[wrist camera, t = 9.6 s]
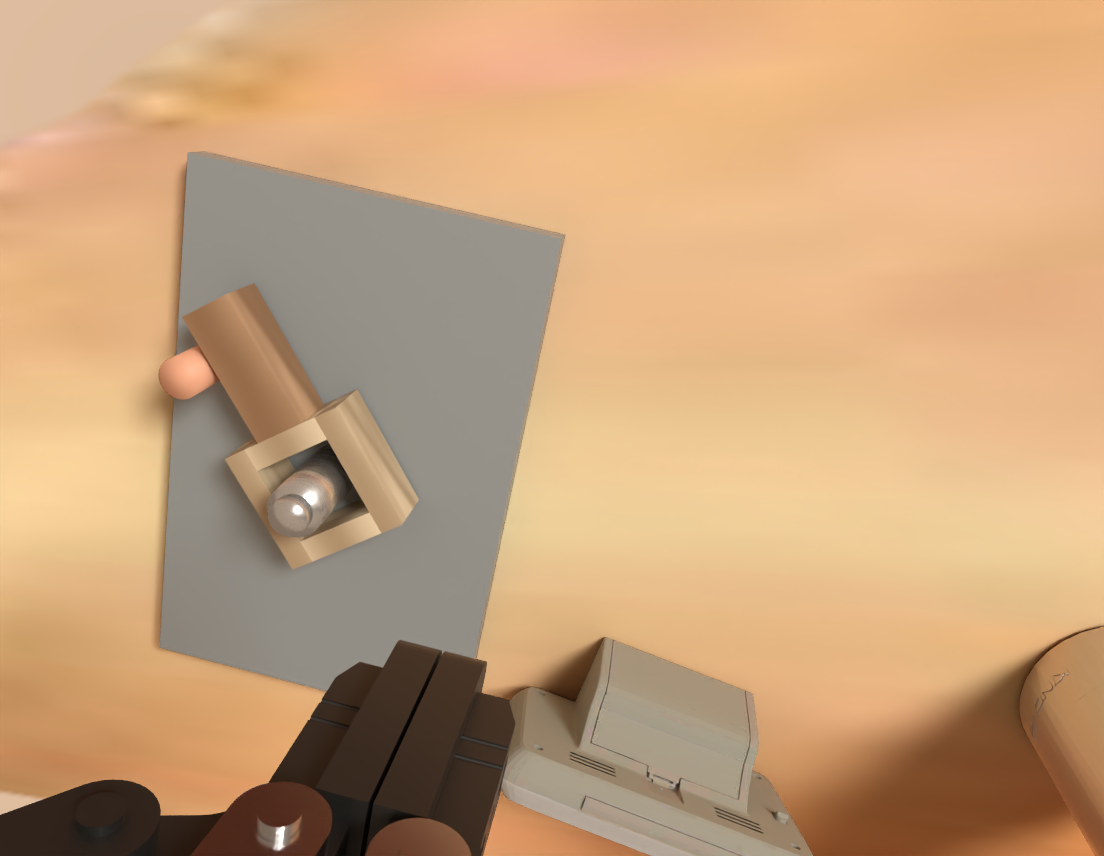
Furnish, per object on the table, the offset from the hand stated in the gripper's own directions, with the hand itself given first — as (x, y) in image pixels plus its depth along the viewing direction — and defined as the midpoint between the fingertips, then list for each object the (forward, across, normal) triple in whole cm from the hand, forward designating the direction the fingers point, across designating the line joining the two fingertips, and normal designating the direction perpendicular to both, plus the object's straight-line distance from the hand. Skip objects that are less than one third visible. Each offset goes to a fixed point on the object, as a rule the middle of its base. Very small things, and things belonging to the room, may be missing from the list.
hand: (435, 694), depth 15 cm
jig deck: (+30, +12, +10) cm, 34 cm away
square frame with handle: (+28, +14, +8) cm, 32 cm away
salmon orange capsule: (+29, +18, +6) cm, 34 cm away
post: (+29, +12, +10) cm, 33 cm away
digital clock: (+31, -8, +22) cm, 39 cm away
